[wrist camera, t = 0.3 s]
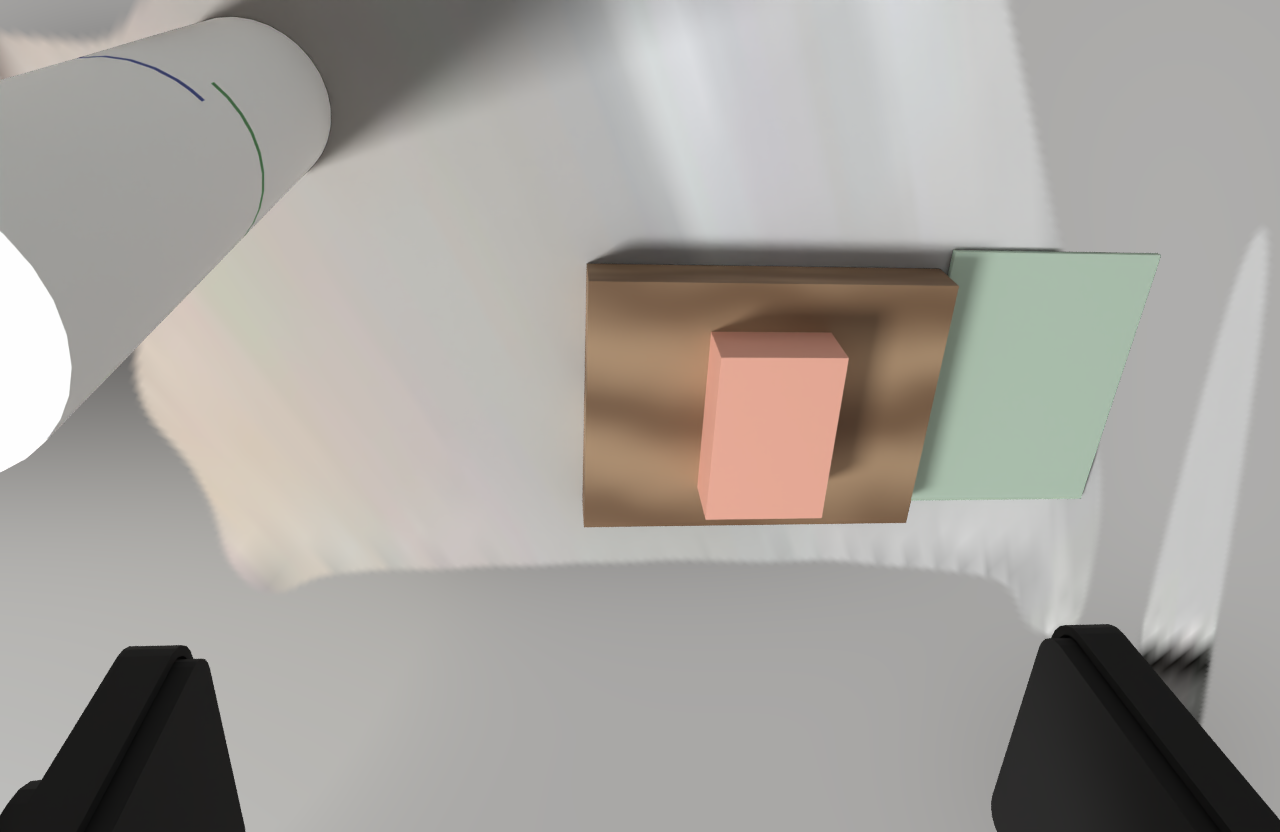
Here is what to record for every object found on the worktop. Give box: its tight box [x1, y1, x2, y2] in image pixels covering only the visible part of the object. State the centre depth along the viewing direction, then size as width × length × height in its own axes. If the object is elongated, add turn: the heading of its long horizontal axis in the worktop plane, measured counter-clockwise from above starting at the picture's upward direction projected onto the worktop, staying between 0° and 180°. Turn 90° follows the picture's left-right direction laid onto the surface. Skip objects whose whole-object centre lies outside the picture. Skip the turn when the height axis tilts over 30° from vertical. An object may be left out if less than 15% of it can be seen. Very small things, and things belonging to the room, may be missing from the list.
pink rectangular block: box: [697, 332, 849, 520], centre depth 45 cm, size 9×6×3 cm, turn 178°
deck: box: [583, 264, 959, 527], centre depth 48 cm, size 14×18×2 cm
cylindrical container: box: [0, 17, 331, 472], centre depth 29 cm, size 7×7×25 cm
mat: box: [911, 250, 1161, 501], centre depth 50 cm, size 15×11×1 cm
